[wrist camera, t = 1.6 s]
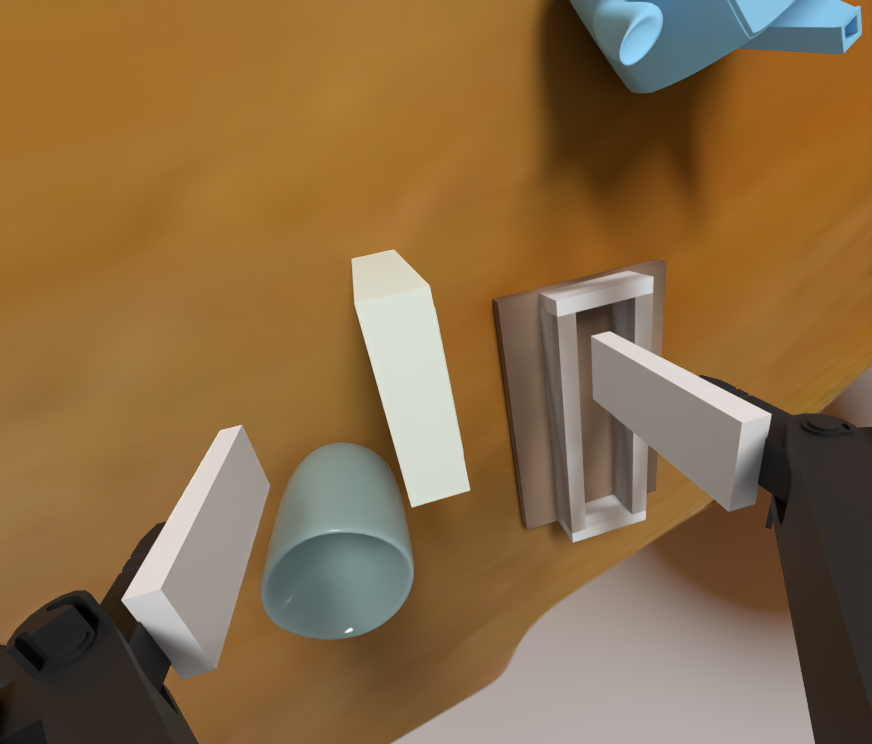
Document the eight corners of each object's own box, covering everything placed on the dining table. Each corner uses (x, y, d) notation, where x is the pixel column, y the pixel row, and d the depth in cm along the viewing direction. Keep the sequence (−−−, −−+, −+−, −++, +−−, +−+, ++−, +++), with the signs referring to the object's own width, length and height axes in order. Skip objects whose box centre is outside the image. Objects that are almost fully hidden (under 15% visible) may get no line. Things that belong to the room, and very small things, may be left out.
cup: (411, 442, 30) (439, 545, 21) (372, 523, 32) (382, 648, 23) (307, 411, 28) (287, 513, 18) (272, 501, 30) (239, 632, 21)
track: (522, 521, 35) (539, 553, 32) (492, 299, 27) (511, 312, 24) (648, 483, 37) (676, 509, 33) (655, 259, 28) (694, 266, 25)
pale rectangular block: (387, 389, 28) (411, 507, 17) (351, 258, 24) (354, 303, 14) (426, 379, 28) (474, 488, 18) (397, 248, 25) (435, 284, 14)
